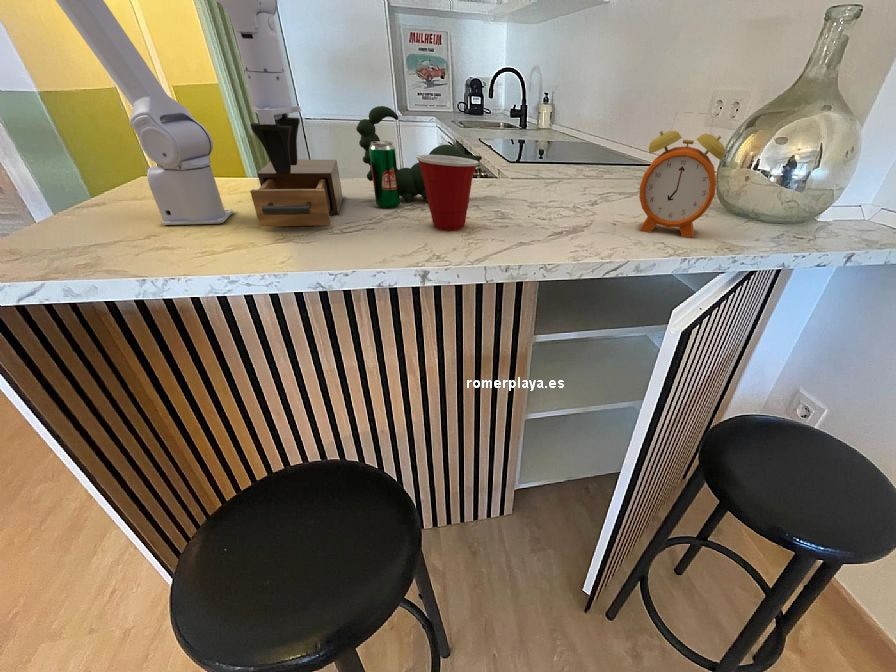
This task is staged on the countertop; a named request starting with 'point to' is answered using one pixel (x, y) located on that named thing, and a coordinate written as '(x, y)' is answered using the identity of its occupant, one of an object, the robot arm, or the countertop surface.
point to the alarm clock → (679, 182)
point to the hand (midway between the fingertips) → (287, 169)
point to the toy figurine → (407, 177)
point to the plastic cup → (447, 188)
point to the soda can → (384, 174)
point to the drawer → (292, 202)
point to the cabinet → (311, 171)
